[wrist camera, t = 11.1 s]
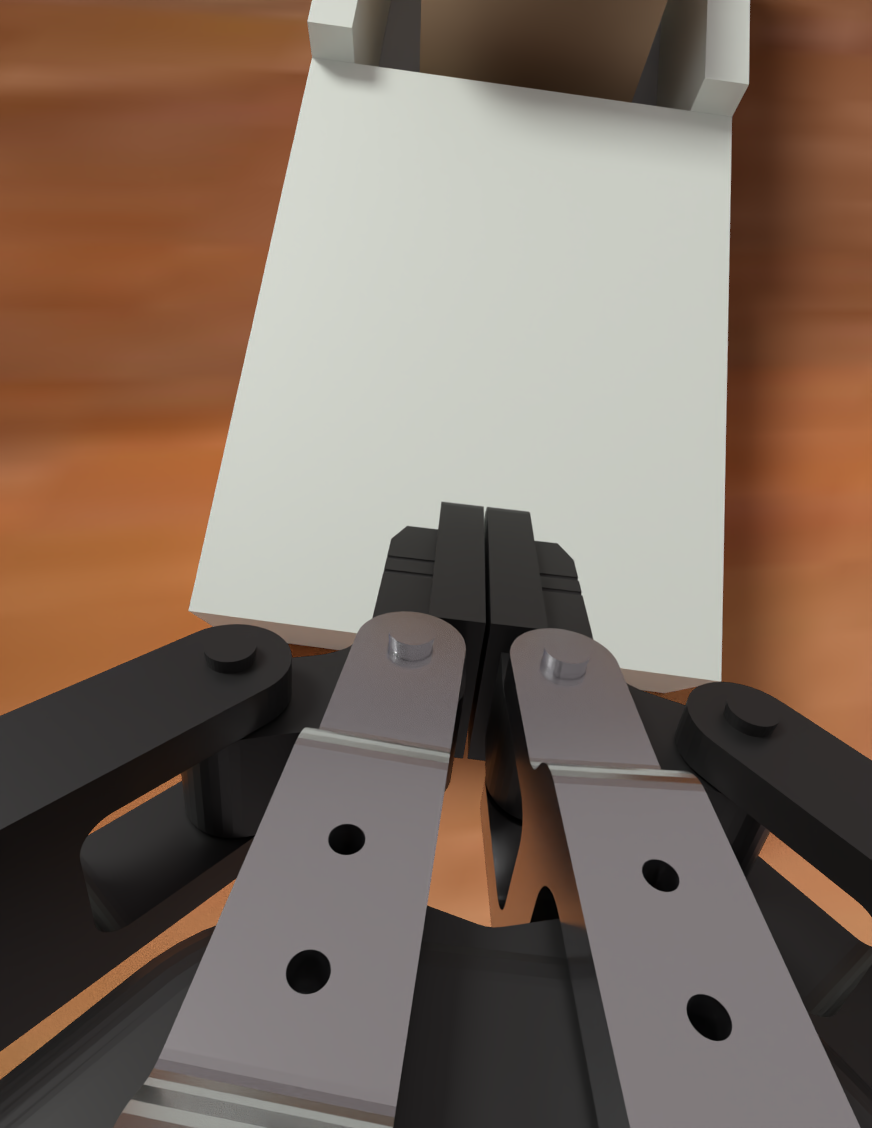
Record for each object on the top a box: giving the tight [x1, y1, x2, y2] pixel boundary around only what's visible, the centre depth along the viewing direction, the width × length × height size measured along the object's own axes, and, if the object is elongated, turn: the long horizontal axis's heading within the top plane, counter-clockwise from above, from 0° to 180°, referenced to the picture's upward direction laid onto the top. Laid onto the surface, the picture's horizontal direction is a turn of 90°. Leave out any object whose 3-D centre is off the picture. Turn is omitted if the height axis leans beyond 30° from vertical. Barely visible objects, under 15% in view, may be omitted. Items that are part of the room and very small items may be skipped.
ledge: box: [189, 57, 732, 693], centre depth 19 cm, size 12×16×4 cm
